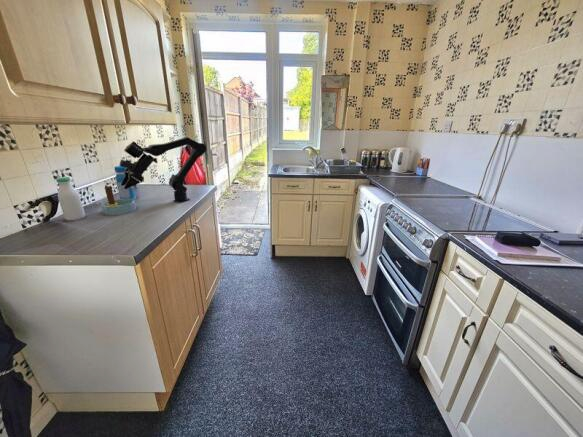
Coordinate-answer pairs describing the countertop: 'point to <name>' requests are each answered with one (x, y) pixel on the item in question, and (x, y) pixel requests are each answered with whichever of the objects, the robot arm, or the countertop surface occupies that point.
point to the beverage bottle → (123, 192)
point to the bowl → (119, 207)
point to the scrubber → (110, 196)
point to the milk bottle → (69, 200)
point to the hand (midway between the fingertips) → (123, 187)
